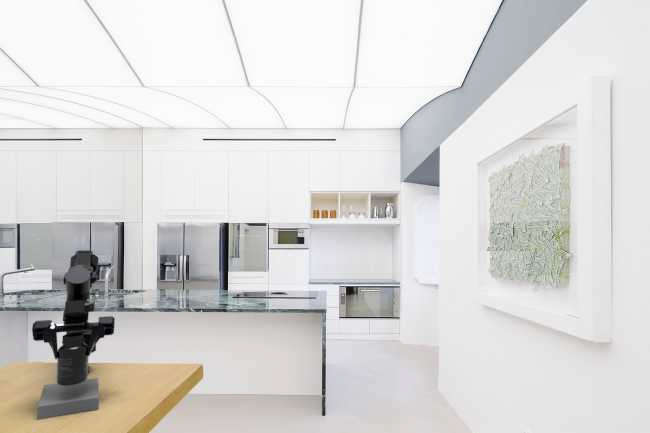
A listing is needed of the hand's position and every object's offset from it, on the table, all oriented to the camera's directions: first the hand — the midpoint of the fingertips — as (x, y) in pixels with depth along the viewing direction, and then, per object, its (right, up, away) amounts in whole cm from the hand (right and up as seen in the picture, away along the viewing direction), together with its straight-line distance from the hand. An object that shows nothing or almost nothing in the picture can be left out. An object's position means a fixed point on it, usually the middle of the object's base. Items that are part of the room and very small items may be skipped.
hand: (72, 356), depth 105 cm
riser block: (-3, -13, +3) cm, 14 cm away
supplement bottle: (-1, -7, +1) cm, 7 cm away
